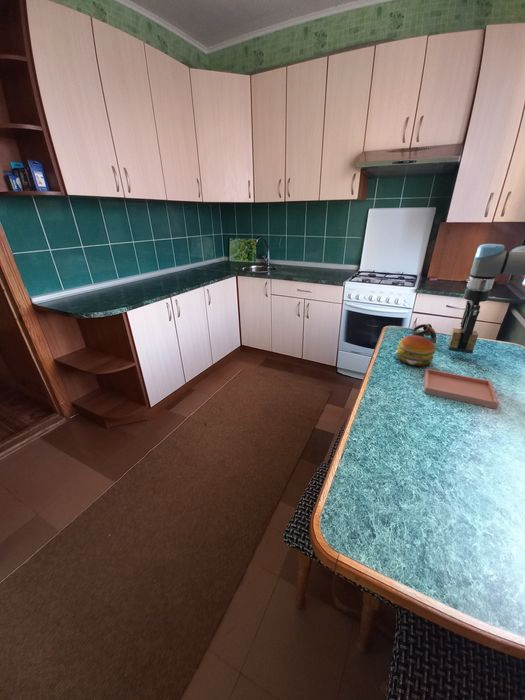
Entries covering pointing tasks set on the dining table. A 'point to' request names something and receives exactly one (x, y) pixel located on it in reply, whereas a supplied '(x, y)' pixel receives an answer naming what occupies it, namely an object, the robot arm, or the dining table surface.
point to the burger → (415, 350)
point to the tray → (460, 388)
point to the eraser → (456, 338)
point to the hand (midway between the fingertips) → (460, 345)
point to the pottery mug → (425, 331)
